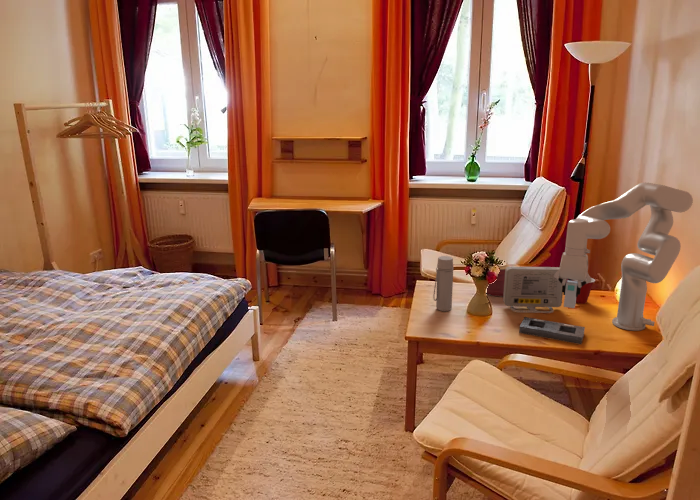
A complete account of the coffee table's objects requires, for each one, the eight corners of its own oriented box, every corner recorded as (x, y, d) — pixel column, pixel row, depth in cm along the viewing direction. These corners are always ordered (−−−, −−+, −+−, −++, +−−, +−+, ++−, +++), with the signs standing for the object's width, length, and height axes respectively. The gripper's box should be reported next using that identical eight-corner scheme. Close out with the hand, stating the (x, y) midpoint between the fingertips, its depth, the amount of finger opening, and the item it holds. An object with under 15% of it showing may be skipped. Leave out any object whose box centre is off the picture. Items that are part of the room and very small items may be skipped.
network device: (557, 306, 241) (561, 265, 236) (562, 313, 233) (567, 271, 228) (501, 304, 244) (504, 264, 239) (505, 312, 236) (508, 270, 230)
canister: (487, 286, 269) (489, 254, 264) (512, 290, 263) (514, 257, 258) (479, 293, 258) (481, 260, 254) (505, 298, 252) (508, 264, 247)
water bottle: (446, 305, 245) (448, 255, 238) (454, 311, 238) (457, 259, 231) (429, 307, 242) (430, 257, 235) (437, 313, 235) (439, 261, 228)
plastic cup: (593, 299, 248) (596, 276, 245) (590, 307, 239) (593, 283, 236) (569, 296, 254) (572, 273, 250) (566, 303, 245) (568, 279, 242)
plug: (575, 304, 208) (578, 281, 205) (574, 309, 204) (576, 285, 201) (564, 303, 209) (567, 280, 207) (563, 307, 205) (565, 283, 203)
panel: (583, 333, 212) (584, 326, 211) (581, 344, 203) (582, 337, 202) (524, 323, 223) (524, 316, 223) (519, 332, 214) (519, 325, 213)
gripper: (599, 251, 200) (594, 295, 205) (554, 246, 208) (550, 288, 213) (598, 256, 194) (592, 301, 199) (551, 251, 201) (547, 294, 206)
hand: (570, 294), depth 206 cm, fingers closed on plug, 4 cm apart
